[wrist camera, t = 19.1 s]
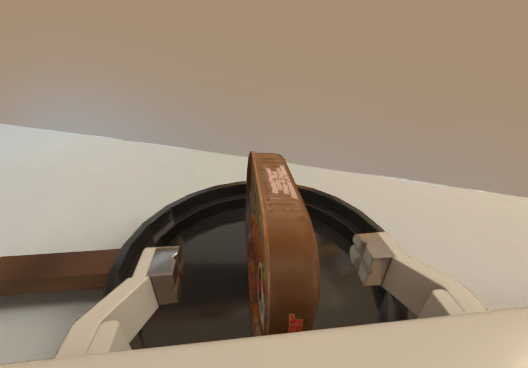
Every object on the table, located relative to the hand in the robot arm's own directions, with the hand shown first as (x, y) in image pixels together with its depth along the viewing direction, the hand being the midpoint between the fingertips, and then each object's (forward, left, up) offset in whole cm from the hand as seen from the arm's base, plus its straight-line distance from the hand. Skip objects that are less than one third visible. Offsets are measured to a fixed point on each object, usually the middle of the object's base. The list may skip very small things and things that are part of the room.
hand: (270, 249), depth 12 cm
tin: (+1, +5, -7) cm, 9 cm away
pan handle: (-16, +5, -6) cm, 18 cm away
